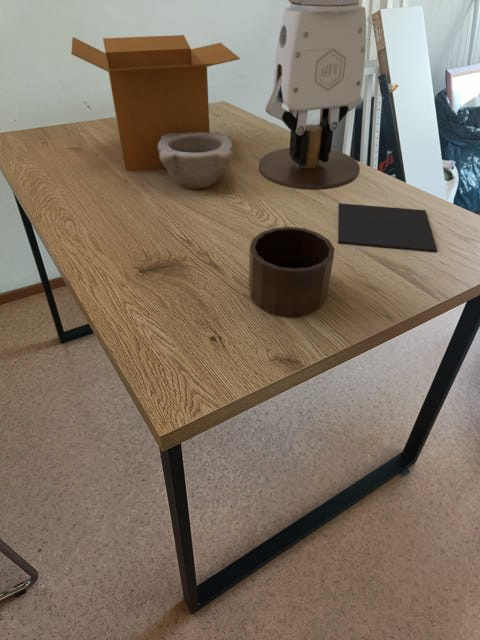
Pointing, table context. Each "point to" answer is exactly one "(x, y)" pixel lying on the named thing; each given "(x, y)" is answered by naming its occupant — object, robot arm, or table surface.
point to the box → (155, 89)
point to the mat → (385, 227)
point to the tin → (290, 271)
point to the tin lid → (309, 166)
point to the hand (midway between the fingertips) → (309, 159)
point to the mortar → (195, 157)
